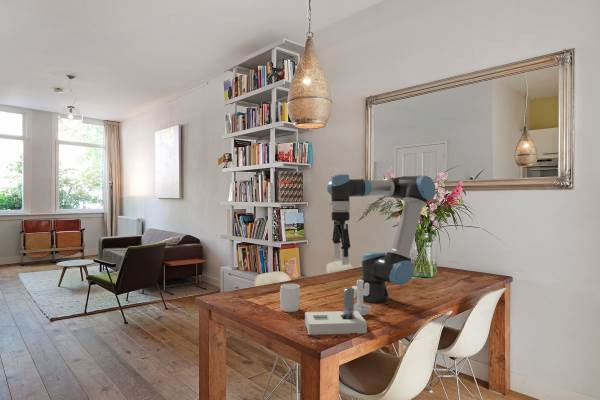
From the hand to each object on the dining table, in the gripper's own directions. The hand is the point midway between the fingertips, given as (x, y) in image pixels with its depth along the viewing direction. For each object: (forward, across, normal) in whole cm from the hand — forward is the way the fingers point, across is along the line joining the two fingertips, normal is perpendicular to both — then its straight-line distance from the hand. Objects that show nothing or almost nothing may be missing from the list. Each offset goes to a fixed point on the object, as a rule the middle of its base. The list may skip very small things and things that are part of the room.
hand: (341, 261), depth 158 cm
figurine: (+24, -3, +9) cm, 26 cm away
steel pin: (+23, +11, 0) cm, 25 cm away
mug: (+24, -15, -21) cm, 35 cm away
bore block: (+24, +11, -6) cm, 27 cm away
